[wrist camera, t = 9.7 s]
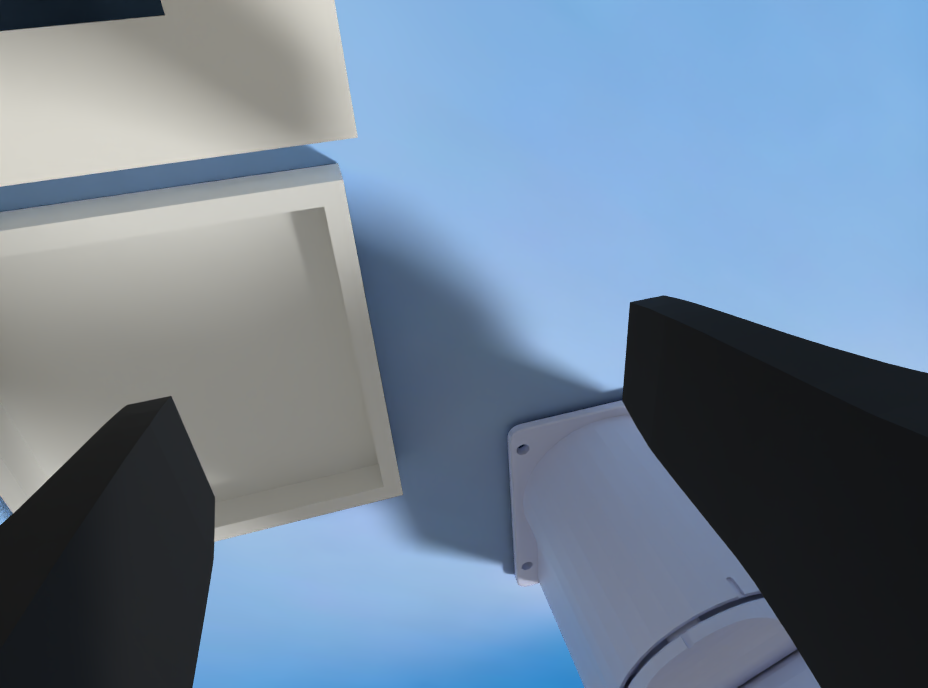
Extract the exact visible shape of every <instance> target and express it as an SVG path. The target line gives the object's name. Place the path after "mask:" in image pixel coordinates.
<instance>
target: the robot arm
mask: <svg viewBox="0 0 928 688" xmlns="http://www.w3.org/2000/svg"><path fill="white" fill-rule="evenodd" d="M523 444H525V445H524V446H523V447H522V448H518V447H519V446H521V445H523ZM508 456H509V474H510V493H511V511H512V530H513V549H514V567H515V578H516V580H517V583H518V585H520V586H524V587H525V586H530V585H534V584H537V583H540V585H541V587H542V590H543V592H544V594H545V596H546V599H547V601H548V603H549V606H550V608H551V610H552V613H553V615H554V617H555V620H556V622H557V624H558V627H559V629H560V631H561V634H562V636H563V638H564V641H565V643H566V645H567V648H568V650H569V652H570V655H571V657H572V659H573V661H574V664H575V666H576V668H577V671H578V673H579V675H580V678H581V680H582V682H583V685H584V687H585V688H928V373H925V372H920V371H916V370H912V369H908V368H904V367H900V366H896V365H892V364H888V363H884V362H881V361H877V360H874V359H870V358H867V357H863V356H860V355H856V354H853V353H849V352H846V351H842V350H839V349H835V348H832V347H828V346H825V345H822V344H819V343H816V342H812V341H809V340H806V339H803V338H800V337H796V336H793V335H790V334H787V333H784V332H781V331H778V330H775V329H772V328H769V327H766V326H763V325H760V324H757V323H754V322H751V321H748V320H745V319H742V318H739V317H736V316H733V315H730V314H727V313H724V312H721V311H718V310H715V309H712V308H708V307H705V306H702V305H699V304H696V303H692V302H689V301H685V300H681V299H677V298H673V297H668V296H659V297H654V298H649V299H644V300H639V301H634V302H630V309H629V322H628V335H627V348H626V360H625V373H624V386H623V398H622V400H621V401H616V402H612V403H608V404H604V405H599V406H595V407H591V408H587V409H582V410H578V411H574V412H570V413H565V414H561V415H557V416H553V417H548V418H544V419H540V420H536V421H531V422H527V423H523V424H519V425H516V426H514V427H513V428H512V429H511V430H510V431H509V433H508ZM214 534H215V496H214V494H213V491H212V489H211V487H210V484H209V482H208V480H207V477H206V475H205V473H204V471H203V468H202V466H201V464H200V461H199V459H198V457H197V454H196V452H195V450H194V447H193V445H192V443H191V440H190V438H189V436H188V433H187V431H186V429H185V426H184V424H183V422H182V419H181V417H180V415H179V412H178V410H177V408H176V405H175V403H174V401H173V399H172V396H168V397H163V398H158V399H153V400H148V401H143V402H139V403H134V404H129V405H126V406H125V407H123V408H122V409H121V410H120V411H119V412H117V413H116V414H115V415H114V416H113V417H112V418H111V419H110V420H109V421H107V422H106V423H105V424H104V425H103V426H102V427H101V428H100V429H99V430H98V431H97V432H96V433H95V434H94V435H93V436H92V437H91V438H90V439H89V440H88V441H87V442H86V443H85V444H84V445H83V446H82V447H81V448H80V449H79V450H78V451H77V452H76V453H75V454H74V455H73V456H72V457H71V458H70V459H69V460H68V461H67V462H66V463H65V464H64V465H63V466H62V467H61V468H59V469H58V470H57V471H56V472H55V473H54V474H53V475H52V476H51V477H50V478H49V479H48V480H47V481H46V482H45V483H44V484H43V485H42V486H41V487H40V488H39V489H38V490H37V491H36V492H35V493H34V494H33V495H32V496H31V497H30V498H29V499H28V500H27V501H26V502H25V503H24V504H23V505H22V506H21V507H20V508H19V509H17V510H16V511H15V512H14V513H13V514H12V515H11V516H10V517H9V518H8V519H7V520H6V521H4V522H3V523H2V524H1V525H0V688H192V686H193V681H194V675H195V669H196V663H197V657H198V651H199V645H200V639H201V633H202V628H203V622H204V616H205V610H206V604H207V598H208V591H209V585H210V579H211V573H212V566H213V559H214Z"/></svg>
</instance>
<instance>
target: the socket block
mask: <svg viewBox="0 0 928 688" xmlns="http://www.w3.org/2000/svg"><path fill="white" fill-rule="evenodd" d="M161 3H162V7H163V10H164V13H165V15H158V16H148V17H137V18H127V19H116V20H106V21H95V22H85V23H74V24H64V25H53V26H43V27H33V28H22V29H12V30H1V31H0V187H1V186H8V185H16V184H23V183H30V182H38V181H45V180H52V179H59V178H67V177H74V176H81V175H88V174H96V173H103V172H110V171H117V170H125V169H132V168H139V167H146V166H154V165H161V164H168V163H176V162H183V161H190V160H197V159H205V158H212V157H219V156H226V155H234V154H241V153H248V152H255V151H263V150H270V149H277V148H284V147H292V146H299V145H306V144H313V143H321V142H328V141H335V140H343V139H350V138H357V131H356V125H355V119H354V113H353V107H352V102H351V96H350V90H349V84H348V78H347V72H346V66H345V60H344V55H343V49H342V43H341V37H340V31H339V25H338V19H337V14H336V8H335V2H334V0H161Z"/></svg>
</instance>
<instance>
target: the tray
mask: <svg viewBox="0 0 928 688" xmlns="http://www.w3.org/2000/svg"><path fill="white" fill-rule="evenodd" d="M168 396H172V399H173V401H174V403H175V405H176V408H177V410H178V412H179V415H180V417H181V419H182V422H183V424H184V426H185V429H186V431H187V433H188V436H189V438H190V440H191V443H192V445H193V447H194V450H195V452H196V454H197V457H198V459H199V461H200V464H201V466H202V468H203V471H204V473H205V475H206V477H207V480H208V482H209V484H210V487H211V489H212V491H213V494H214V496H215V534H214V542H215V541H219V540H223V539H227V538H231V537H235V536H239V535H243V534H247V533H251V532H255V531H260V530H264V529H268V528H272V527H276V526H280V525H284V524H288V523H292V522H296V521H300V520H304V519H308V518H312V517H316V516H320V515H324V514H328V513H332V512H336V511H340V510H344V509H348V508H352V507H356V506H360V505H364V504H368V503H372V502H376V501H380V500H384V499H388V498H393V497H397V496H401V495H403V492H402V487H401V481H400V476H399V471H398V466H397V460H396V455H395V450H394V445H393V439H392V434H391V429H390V424H389V418H388V413H387V408H386V403H385V397H384V392H383V387H382V382H381V376H380V371H379V366H378V361H377V355H376V350H375V345H374V340H373V334H372V329H371V324H370V319H369V313H368V308H367V303H366V298H365V292H364V287H363V282H362V277H361V271H360V266H359V261H358V256H357V250H356V245H355V240H354V235H353V229H352V224H351V219H350V214H349V208H348V203H347V198H346V193H345V187H344V182H343V178H342V175H341V171H340V168H339V165H338V163H336V164H329V165H322V166H316V167H309V168H302V169H295V170H288V171H281V172H274V173H267V174H260V175H253V176H246V177H239V178H233V179H226V180H219V181H212V182H205V183H198V184H191V185H184V186H177V187H170V188H163V189H156V190H150V191H143V192H136V193H129V194H122V195H115V196H108V197H101V198H94V199H87V200H80V201H73V202H67V203H60V204H53V205H46V206H39V207H32V208H25V209H18V210H11V211H4V212H0V496H1V497H2V499H3V500H4V501H5V503H6V504H7V506H8V507H9V509H10V510H11V511H12V513H14V512H15V511H16V510H17V509H19V508H20V507H21V506H22V505H23V504H24V503H25V502H26V501H27V500H28V499H29V498H30V497H31V496H32V495H33V494H34V493H35V492H36V491H37V490H38V489H39V488H40V487H41V486H42V485H43V484H44V483H45V482H46V481H47V480H48V479H49V478H50V477H51V476H52V475H53V474H54V473H55V472H56V471H57V470H58V469H59V468H61V467H62V466H63V465H64V464H65V463H66V462H67V461H68V460H69V459H70V458H71V457H72V456H73V455H74V454H75V453H76V452H77V451H78V450H79V449H80V448H81V447H82V446H83V445H84V444H85V443H86V442H87V441H88V440H89V439H90V438H91V437H92V436H93V435H94V434H95V433H96V432H97V431H98V430H99V429H100V428H101V427H102V426H103V425H104V424H105V423H106V422H107V421H109V420H110V419H111V418H112V417H113V416H114V415H115V414H116V413H117V412H119V411H120V410H121V409H122V408H123V407H125V406H126V405H129V404H134V403H139V402H143V401H148V400H153V399H158V398H163V397H168Z"/></svg>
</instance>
